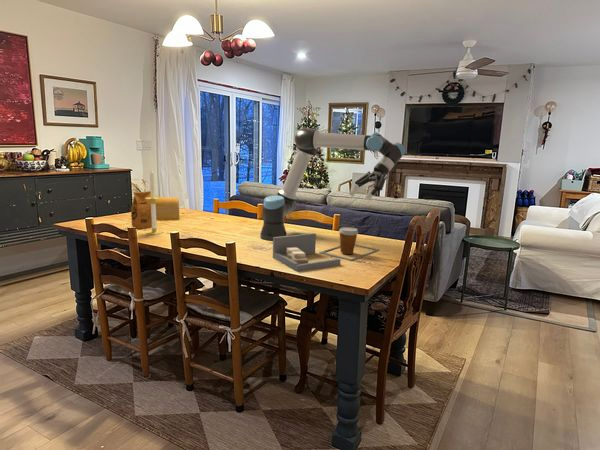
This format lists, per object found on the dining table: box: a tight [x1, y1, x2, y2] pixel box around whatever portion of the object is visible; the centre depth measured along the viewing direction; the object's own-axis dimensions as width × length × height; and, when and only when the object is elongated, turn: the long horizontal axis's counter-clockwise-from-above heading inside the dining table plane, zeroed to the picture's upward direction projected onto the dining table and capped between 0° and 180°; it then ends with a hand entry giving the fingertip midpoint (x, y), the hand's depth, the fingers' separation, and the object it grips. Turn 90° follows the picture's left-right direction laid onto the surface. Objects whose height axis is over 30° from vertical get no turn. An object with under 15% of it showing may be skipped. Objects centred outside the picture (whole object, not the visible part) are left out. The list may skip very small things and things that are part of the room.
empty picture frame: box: [318, 243, 380, 262], centre depth 213 cm, size 19×2×30 cm
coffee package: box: [130, 190, 152, 230], centre depth 255 cm, size 10×12×22 cm
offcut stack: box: [284, 247, 309, 264], centre depth 192 cm, size 18×6×6 cm, turn 21°
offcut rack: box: [272, 232, 342, 272], centre depth 194 cm, size 23×23×10 cm
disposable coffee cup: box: [338, 226, 359, 255], centre depth 209 cm, size 10×10×12 cm
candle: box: [145, 168, 161, 235], centre depth 240 cm, size 10×10×38 cm
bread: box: [155, 196, 180, 221], centre depth 283 cm, size 24×13×15 cm, turn 106°
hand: (358, 196), depth 215 cm, fingers open, 13 cm apart
